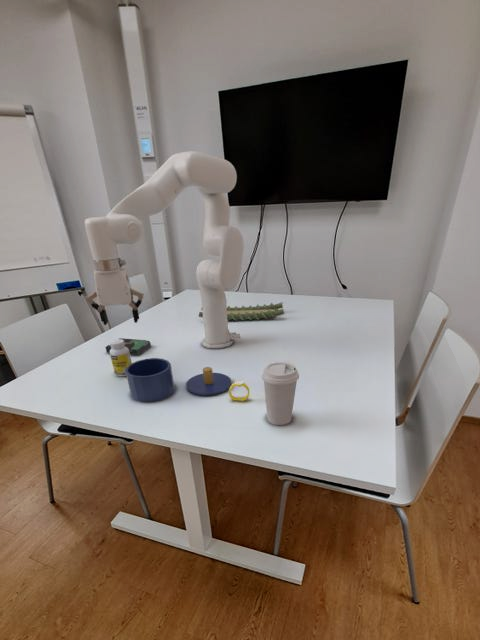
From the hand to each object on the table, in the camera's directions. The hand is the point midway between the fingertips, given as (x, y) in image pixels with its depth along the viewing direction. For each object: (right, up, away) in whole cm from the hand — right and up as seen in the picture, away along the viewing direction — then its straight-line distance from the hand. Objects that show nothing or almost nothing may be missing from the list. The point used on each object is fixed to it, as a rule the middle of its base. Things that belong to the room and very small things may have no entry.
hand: (121, 322), depth 115 cm
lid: (+28, -20, 0) cm, 35 cm away
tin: (+11, -22, -1) cm, 25 cm away
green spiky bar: (+39, +20, +59) cm, 73 cm away
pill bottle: (-3, -15, +12) cm, 19 cm away
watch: (+38, -26, -8) cm, 47 cm away
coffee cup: (+49, -32, -17) cm, 61 cm away
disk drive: (-7, -3, +30) cm, 31 cm away
